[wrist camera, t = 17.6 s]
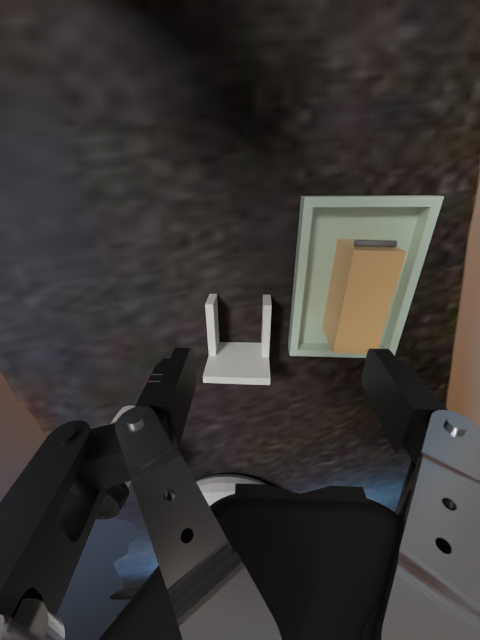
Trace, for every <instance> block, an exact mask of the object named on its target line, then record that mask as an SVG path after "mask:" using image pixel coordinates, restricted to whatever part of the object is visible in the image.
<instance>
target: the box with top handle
mask: <svg viewBox="0 0 480 640" xmlns="http://www.w3.org/2000/svg"><path fill="white" fill-rule="evenodd" d="M396 246H397V241H396V240H365V239H338V240H337V245H336V251H335V257H334V263H333V268H332V274H331V280H330V285H329V291H328V297H327V303H326V308H325V314H324V320H323V326H322V329H323V332H324V334H325V336H326V338H327V341H328V343H329V345H330V347H331V350H332V352H333V353H351V354H367V352H368V350H369V349H378V347H379V343H380V340H381V337H382V333H383V330H384V326H385V323H386V320H387V316H388V313H389V309H390V306H391V303H392V299H393V296H394V293H395V289H396V286H397V282H398V279H399V276H400V272H401V269H402V265H403V262H404V259H405V255H406V252H407V251H404V250H402V249H400V248H398V247H396Z"/></svg>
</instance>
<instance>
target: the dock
mask: <svg viewBox="0 0 480 640" xmlns="http://www.w3.org/2000/svg"><path fill="white" fill-rule="evenodd" d="M205 309H206V322H207V336H208V350H209V357H208V360H207V364H206V367H205V370H204V374H203V383H225V384H254V385H270V364H269V348H270V329H271V309H272V304H271V295H263V309H262V338H261V343H242V342H219V323H218V303H217V294H209V297H208V299H207V301H206V304H205Z"/></svg>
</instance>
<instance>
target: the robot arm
mask: <svg viewBox="0 0 480 640" xmlns="http://www.w3.org/2000/svg"><path fill="white" fill-rule="evenodd" d="M362 386H363V389H364V391H365V393H366V395H367V397H368V399H369V401H370V403H371V405H372V407H373V409H374V411H375V413H376V415H377V417H378V419H379V421H380V423H381V425H382V427H383V428H384V430H385V432H386V434H387V436H388V438H389V440H390V442H391V444H392V446H393V448H394V450H395V452H396V454H409V455H410V457H411V459H412V460H411V463H410V465H409V468H408V472H407V475H406V478H405V482H404V485H403V489H402V492H401V496H400V499H399V502H398V505H397V508H396V511H395V512H393V511H392V510H390V509H389V508H387V507H385V506H383V505H381V504H380V503H377V502H375V501H373V500H370V499H367V498H366V495H365V493H364V490H363V487H346V486H329V487H325V488H321V489H318V490H314V491H310V492H306V493H302V494H298V493H294V492H290V491H287V490H284V489H280V488H277V487H274V486H270V485H267V484H240V483H235V494H231V495H228V496H226V497H223V498H221V499H219V500H218V501H216V502H214V503H213V504H212V505H210V506H209V505H208V503H207V501H206V499H205V497H204V496H203V494H202V492H201V490H200V488H199V486H198V485H197V483H196V481H195V479H194V477H193V475H192V473H191V472H190V470H189V468H188V466H187V464H186V462H185V461H184V459H183V457H182V455H181V453H180V452H179V450H178V449H177V448H179V445H180V441H181V438H182V434H183V430H184V427H185V423H186V419H187V416H188V412H189V409H190V405H191V401H192V398H193V394H194V390H195V387H196V369H195V362H194V355H193V350H192V348H175V350H174V352H173V354H172V356H171V358H170V359H163V360H162V361H161V362H160V363H158V364H157V365H156V366H155V368H154V370H153V372H152V375H151V376H150V378H149V380H148V382H147V384H146V386H145V388H144V390H143V392H142V394H141V396H140V398H139V400H138V402H137V404H136V405H135V407H134V408H131V409H129V410H127V411H126V412H124V413H123V414H122V415H121V416H120V417H119V418H118V419H117V421H116V423H113V424H110V425H106V426H102V427H98V428H94V429H91V428H90V426H89V424H88V423H87V422H85V421H72V422H68V423H66V424H63V425H61V426H60V427H58V428H57V429H55V430H54V431H53V432H52V433H51V434H50V435H49V436H48V437H47V438H46V440H45V441H44V443H43V444H42V445H41V447H40V448H39V450H38V451H37V452H36V454H35V455H34V456H33V458H32V459H31V460H30V462H29V463H28V465H27V466H26V467H25V469H24V470H23V472H22V473H21V474H20V476H19V477H18V479H17V480H16V481H15V483H14V484H13V486H12V487H11V488H10V490H9V491H8V493H7V494H6V495H5V497H4V498H3V499H2V501H1V502H0V640H64V639H65V631H64V626H63V623H62V621H61V620H60V618H59V617H58V616H56V615H57V612H58V610H59V607H60V605H61V603H62V600H63V598H64V595H65V593H66V590H67V588H68V586H69V583H70V581H71V578H72V576H73V573H74V570H75V568H76V566H77V563H78V561H79V559H80V556H81V553H82V551H83V549H84V546H85V544H86V541H87V539H88V536H89V534H90V532H91V529H92V527H93V524H94V521H95V519H96V517H97V514H98V512H99V509H100V507H101V504H102V502H103V500H104V497H105V495H106V492H107V490H108V487H112V486H115V485H118V484H122V483H125V482H128V481H131V482H132V485H133V488H134V491H135V494H136V497H137V500H138V503H139V506H140V509H141V512H142V515H143V518H144V521H145V524H146V527H147V531H148V534H149V537H150V540H151V543H152V546H153V549H154V552H155V555H156V558H157V561H158V564H159V566H158V567H157V568H156V569H155V571H154V572H153V573H152V574H151V575H150V577H149V578H148V579H147V580H146V582H145V583H144V584H143V585H142V587H141V588H140V589H139V590H138V591H137V593H136V594H135V595H134V596H133V598H132V599H131V600H130V601H129V602H128V604H127V605H126V606H125V607H124V609H123V610H122V611H121V612H120V613H119V615H118V616H117V617H116V618H115V620H114V621H113V622H112V623H111V624H110V626H109V627H108V628H107V629H106V631H105V632H104V633H103V634H102V635H101V637H100V638H99V639H98V640H480V429H479V428H478V427H477V425H476V424H475V423H473V422H472V421H471V420H469V419H468V418H466V417H464V416H463V415H461V414H458V413H456V412H452V411H448V410H447V409H446V407H445V406H444V405H443V404H442V402H441V401H440V400H439V399H438V398H437V396H436V395H435V394H434V393H433V392H432V390H431V389H430V388H429V387H428V385H426V383H425V382H424V381H423V379H422V378H420V376H419V375H418V373H417V372H416V371H415V370H414V369H413V367H411V366H410V365H408V364H407V363H405V362H404V361H402V360H397V358H396V357H395V356H394V355H393V353H392V352H391V351H390V350H389V349H369V350H368V352H367V356H366V360H365V364H364V368H363V372H362Z"/></svg>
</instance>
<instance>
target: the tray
mask: <svg viewBox="0 0 480 640" xmlns="http://www.w3.org/2000/svg"><path fill="white" fill-rule="evenodd" d="M443 199H444V196H433V195H385V196H301V203H300V214H299V226H298V237H297V248H296V260H295V271H294V282H293V294H292V305H291V316H290V327H289V339H288V349H289V355H290V356H315V357H351V358H366V356H367V354H351V353H333V352H332V350H331V347H330V345H329V343H328V341H327V338H326V336H325V334H324V332H323V329H322V326H323V320H324V314H325V308H326V303H327V297H328V291H329V285H330V280H331V274H332V268H333V263H334V257H335V251H336V245H337V240H338V239H365V240H396V241H397V246H396V247H398V248H400V249H402V250H404V251H407V252H406V255H405V259H404V262H403V265H402V269H401V272H400V276H399V279H398V282H397V286H396V289H395V293H394V296H393V299H392V303H391V306H390V309H389V313H388V316H387V320H386V323H385V326H384V330H383V333H382V337H381V340H380V343H379V347H378V349H389V350H390V351H391V352H392V353H393V355H394V356H395V353H396V350H397V347H398V344H399V340H400V337H401V334H402V331H403V327H404V324H405V321H406V318H407V315H408V311H409V308H410V305H411V302H412V298H413V295H414V292H415V289H416V286H417V282H418V279H419V276H420V273H421V269H422V266H423V263H424V260H425V257H426V253H427V250H428V247H429V244H430V240H431V237H432V234H433V231H434V228H435V224H436V221H437V218H438V215H439V211H440V208H441V205H442V202H443Z"/></svg>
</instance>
